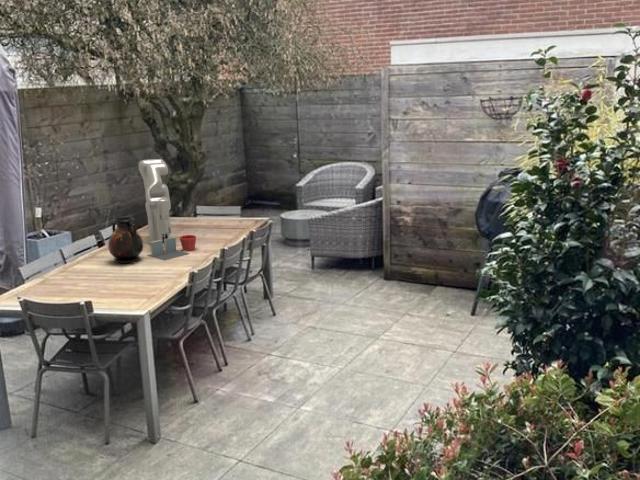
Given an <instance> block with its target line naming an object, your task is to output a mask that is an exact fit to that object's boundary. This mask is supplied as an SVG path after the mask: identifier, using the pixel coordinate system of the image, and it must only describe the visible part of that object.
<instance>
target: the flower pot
mask: <svg viewBox="0 0 640 480" xmlns="http://www.w3.org/2000/svg"><path fill="white" fill-rule="evenodd" d="M179 240H180V245H181V247H182V251H183V252H191V251H194V250H195V247H196V240H197V236H196V235H193V234H186V235H181V236H179Z"/></svg>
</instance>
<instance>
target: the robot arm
mask: <svg viewBox="0 0 640 480" xmlns="http://www.w3.org/2000/svg"><path fill="white" fill-rule="evenodd" d="M138 171H139V173H140V175H141V176H142V179H143V185H144V190H145V201H146V202H145V210H146V214H147V215H146V216H147V224H148V236H147V237H146V239H148V240H147V244H149V245H151V242H153V241H158V240H163V245H164V239H167V238H169V237H170V236H171V234H172V226H171V225H172V224H171V220H170V210H171V208H172V207H171V206H172V204H171V199H170V193H169V192H170V191H169V188H168V185H167V184H165V183H163V181H162V177H161V176H167V175H168V173H169V168H168V165H167V163H166V162H165V160H164V159H161V158H155V159H143V160H140V161H139V162H138Z"/></svg>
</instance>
